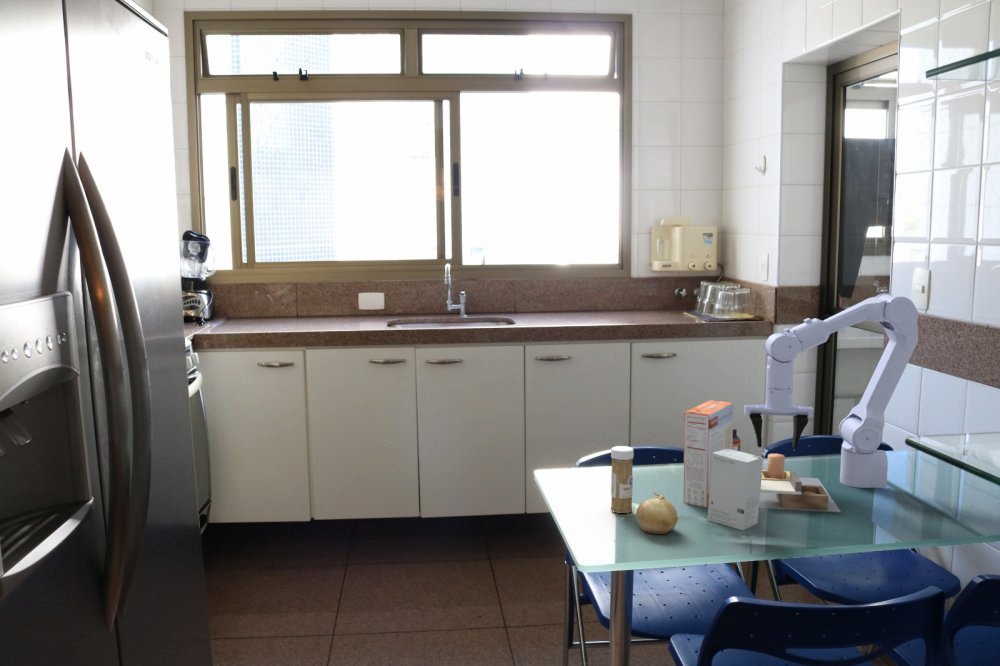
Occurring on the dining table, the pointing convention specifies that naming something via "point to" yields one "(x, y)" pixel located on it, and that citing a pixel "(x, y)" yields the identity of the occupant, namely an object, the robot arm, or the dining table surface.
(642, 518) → the onion
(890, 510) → the dining table surface
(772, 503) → the board
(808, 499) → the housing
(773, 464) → the dowel pin
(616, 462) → the sprinkles bottle
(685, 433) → the cracker box
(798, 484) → the lid
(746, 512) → the skincare box
